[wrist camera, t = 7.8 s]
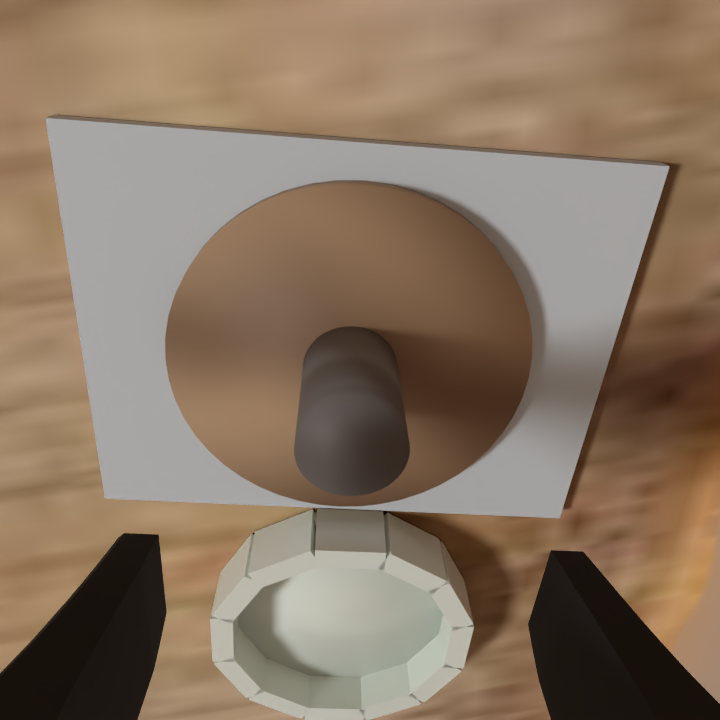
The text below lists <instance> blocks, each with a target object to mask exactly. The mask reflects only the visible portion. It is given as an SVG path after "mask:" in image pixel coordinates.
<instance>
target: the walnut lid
mask: <svg viewBox="0 0 720 720" xmlns="http://www.w3.org/2000/svg"><path fill="white" fill-rule="evenodd" d="M165 360H166V366H167V372H168V378H169V382H170V385H171V388H172V392H173V395H174V398H175V401H176V403H177V405H178V407H179V409H180V411H181V413H182V415H183V417H184V419H185V420H186V422H187V424H188V425H189V427H190V428H191V430H192V431H193V433H194V434H195V436H196V437H197V438H198V439H199V440H200V441H201V443H202V444H203V445H204V446H205V447H206V448H207V449H208V451H209V452H211V453H212V454H213V455H214V456H215V457H216V458H217V459H218V460H219V461H220V462H222V463H223V464H224V465H225V466H227V467H228V468H229V469H231V470H232V471H234V472H235V473H236V474H238V475H239V476H241V477H242V478H244V479H246V480H248V481H250V482H251V483H253V484H255V485H257V486H259V487H261V488H263V489H266V490H268V491H270V492H273V493H275V494H278V495H281V496H284V497H287V498H291V499H294V500H297V501H302V502H307V503H313V504H318V505H328V506H339V507H342V506H368V505H377V504H383V503H388V502H393V501H398V500H402V499H405V498H408V497H411V496H414V495H417V494H421V493H423V492H425V491H428V490H430V489H432V488H434V487H437V486H439V485H441V484H443V483H444V482H446V481H448V480H450V479H451V478H453V477H455V476H457V475H458V474H460V473H461V472H462V471H464V470H465V469H466V468H468V467H469V466H471V465H472V464H473V463H475V462H476V461H477V460H478V459H479V458H480V457H481V456H482V455H483V454H484V453H485V452H486V451H488V450H489V449H490V447H491V446H492V445H493V444H494V443H495V442H496V440H497V439H498V438H499V437H500V436H501V434H502V433H503V432H504V430H505V429H506V427H507V426H508V424H509V423H510V421H511V420H512V418H513V416H514V414H515V412H516V410H517V408H518V406H519V404H520V402H521V400H522V398H523V395H524V391H525V388H526V385H527V382H528V379H529V373H530V367H531V361H532V330H531V323H530V316H529V312H528V309H527V305H526V302H525V299H524V295H523V293H522V291H521V288H520V286H519V284H518V282H517V280H516V278H515V276H514V274H513V272H512V271H511V269H510V267H509V266H508V264H507V263H506V261H505V260H504V258H503V257H502V255H501V254H500V253H499V251H498V250H497V248H496V247H495V246H494V245H493V243H492V242H491V241H490V240H489V239H488V238H487V237H486V236H485V235H484V234H483V233H482V231H481V230H480V229H478V228H477V227H476V226H475V225H474V224H472V223H471V222H470V221H469V220H467V219H466V218H465V217H464V216H463V215H461V214H460V213H458V212H456V211H455V210H453V209H452V208H450V207H448V206H447V205H445V204H443V203H442V202H440V201H438V200H435V199H433V198H431V197H428V196H426V195H424V194H421V193H419V192H417V191H414V190H410V189H407V188H403V187H399V186H396V185H392V184H387V183H380V182H372V181H365V180H334V181H327V182H319V183H311V184H307V185H303V186H300V187H296V188H292V189H288V190H285V191H282V192H280V193H277V194H275V195H273V196H270V197H268V198H266V199H263V200H261V201H259V202H257V203H256V204H254V205H252V206H251V207H249V208H247V209H245V210H244V211H242V212H240V213H239V214H237V215H236V216H235V217H234V218H232V219H231V220H230V221H229V222H227V223H226V224H225V225H224V226H222V227H221V228H220V229H219V230H218V231H217V232H216V233H215V234H214V235H213V236H212V237H211V238H210V239H209V241H208V242H207V243H206V244H205V245H204V246H203V247H202V248H201V250H200V251H199V253H198V254H197V256H196V257H195V259H194V260H193V262H192V263H191V265H190V266H189V268H188V269H187V271H186V273H185V275H184V277H183V279H182V281H181V283H180V285H179V287H178V289H177V291H176V293H175V296H174V299H173V302H172V305H171V309H170V312H169V315H168V321H167V328H166V335H165Z"/></svg>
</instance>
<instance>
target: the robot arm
mask: <svg viewBox="0 0 720 720" xmlns="http://www.w3.org/2000/svg"><path fill="white" fill-rule="evenodd" d="M165 617H166V603H165V594H164V584H163V574H162V565H161V555H160V545H159V536H158V535H152V534H128V533H124V534H123V535H121V536H120V537H119V538H118V539H117V540H116V541H115V543H114V544H113V545H112V546H111V548H110V549H109V550H108V552H107V553H106V554H105V555H104V557H103V558H102V559H101V560H100V562H99V563H98V564H97V565H96V567H95V568H94V569H93V570H92V572H91V573H90V574H89V575H88V577H87V578H86V579H85V580H84V581H83V583H82V584H81V585H80V586H79V587H78V589H77V590H76V591H75V592H74V593H73V594H72V596H71V597H70V598H69V599H68V600H67V601H66V603H65V604H64V605H63V606H62V607H61V608H60V609H59V611H58V612H57V613H56V614H55V615H54V616H53V617H52V618H51V620H50V621H49V622H48V623H47V624H46V625H45V626H44V628H43V629H42V630H41V631H40V632H39V633H38V634H37V635H36V636H35V638H34V639H33V640H32V641H31V642H30V643H29V644H28V645H27V646H26V647H25V648H24V649H23V650H22V651H21V652H20V653H19V654H18V655H17V656H16V658H15V659H14V660H13V661H12V662H11V663H10V664H9V665H8V666H7V667H6V668H5V669H4V670H3V671H2V672H1V673H0V720H137V719H138V716H139V713H140V710H141V707H142V704H143V701H144V698H145V695H146V692H147V689H148V686H149V683H150V680H151V677H152V674H153V671H154V667H155V662H156V658H157V654H158V649H159V645H160V640H161V636H162V631H163V626H164V622H165ZM528 626H529V631H530V637H531V642H532V648H533V653H534V658H535V663H536V668H537V673H538V678H539V682H540V685H541V688H542V692H543V695H544V698H545V701H546V705H547V708H548V711H549V714H550V717H551V720H720V704H719V703H718V702H717V701H716V700H715V699H714V698H713V697H712V696H711V695H710V694H709V693H708V692H707V691H706V690H705V689H704V688H703V687H702V686H701V685H700V684H699V683H698V682H697V681H696V679H695V678H694V677H692V675H691V674H690V673H689V672H688V671H687V670H686V669H685V668H684V667H683V666H682V665H681V664H680V663H679V661H678V660H677V659H676V658H675V657H674V656H673V655H672V654H671V653H670V652H669V650H668V649H667V648H666V647H665V646H664V645H663V644H662V643H661V642H660V640H659V639H658V638H657V637H656V636H655V635H654V634H653V633H652V632H651V630H650V629H649V628H648V627H647V626H646V625H645V624H644V622H643V621H642V620H641V619H640V618H639V617H638V616H637V614H636V613H635V612H634V611H633V610H632V608H631V607H630V606H629V605H628V604H627V603H626V601H625V600H624V599H623V598H622V597H621V596H620V594H619V593H618V592H617V591H616V590H615V589H614V587H613V586H612V585H611V584H610V583H609V581H608V580H607V579H606V578H605V577H604V576H603V574H602V573H601V572H600V571H599V570H598V568H597V567H596V566H595V565H594V564H593V563H592V561H591V560H590V559H589V558H588V557H587V556H586V554H585V553H584V552H577V551H552V550H551V553H550V556H549V559H548V562H547V566H546V569H545V572H544V575H543V578H542V582H541V585H540V588H539V591H538V594H537V598H536V601H535V604H534V607H533V610H532V614H531V617H530V620H529V623H528Z"/></svg>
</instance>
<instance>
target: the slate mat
mask: <svg viewBox="0 0 720 720" xmlns="http://www.w3.org/2000/svg"><path fill="white" fill-rule="evenodd" d="M46 124H47V131H48V137H49V143H50V150H51V156H52V163H53V169H54V175H55V182H56V188H57V195H58V201H59V207H60V214H61V220H62V227H63V233H64V239H65V246H66V252H67V259H68V265H69V271H70V278H71V284H72V291H73V297H74V303H75V310H76V316H77V323H78V329H79V335H80V342H81V348H82V355H83V361H84V367H85V374H86V380H87V387H88V393H89V399H90V406H91V412H92V419H93V425H94V431H95V438H96V444H97V451H98V457H99V463H100V470H101V476H102V483H103V489H104V495H105V499H125V500H148V501H172V502H195V503H218V504H242V505H265V506H288V507H312V508H335V509H358V510H382V511H405V512H428V513H452V514H475V515H498V516H522V517H545V518H560V515H561V512H562V509H563V506H564V503H565V499H566V496H567V493H568V490H569V487H570V483H571V480H572V477H573V474H574V471H575V467H576V464H577V461H578V458H579V455H580V451H581V448H582V445H583V442H584V439H585V436H586V432H587V429H588V426H589V423H590V420H591V416H592V413H593V410H594V407H595V404H596V400H597V397H598V394H599V391H600V388H601V384H602V381H603V378H604V375H605V372H606V368H607V365H608V362H609V359H610V356H611V352H612V349H613V346H614V343H615V340H616V336H617V333H618V330H619V327H620V324H621V321H622V317H623V314H624V311H625V308H626V305H627V301H628V298H629V295H630V292H631V289H632V285H633V282H634V279H635V276H636V273H637V269H638V266H639V263H640V260H641V257H642V253H643V250H644V247H645V244H646V241H647V237H648V234H649V231H650V228H651V225H652V221H653V218H654V215H655V212H656V209H657V206H658V202H659V199H660V196H661V193H662V190H663V186H664V183H665V180H666V177H667V174H668V170H669V167H670V166H668V165H666V164H664V163H662V162H652V161H639V160H626V159H613V158H601V157H588V156H575V155H562V154H549V153H537V152H524V151H511V150H498V149H485V148H473V147H460V146H447V145H434V144H421V143H408V142H396V141H383V140H370V139H357V138H344V137H332V136H319V135H306V134H293V133H280V132H267V131H255V130H242V129H229V128H216V127H203V126H191V125H178V124H165V123H152V122H139V121H127V120H114V119H101V118H88V117H75V116H62V115H52V116H49V117H47V118H46ZM334 180H365V181H372V182H380V183H387V184H392V185H396V186H399V187H403V188H407V189H410V190H414V191H417V192H419V193H421V194H424V195H426V196H428V197H431V198H433V199H435V200H438V201H440V202H442V203H443V204H445V205H447V206H448V207H450V208H452V209H453V210H455V211H456V212H458V213H460V214H461V215H463V216H464V217H465V218H466V219H467V220H469V221H470V222H471V223H472V224H474V225H475V226H476V227H477V228H478V229H480V230H481V231H482V233H483V234H484V235H485V236H486V237H487V238H488V239H489V240H490V241H491V242H492V243H493V245H494V246H495V247H496V248H497V250H498V251H499V253H500V254H501V255H502V257H503V258H504V260H505V261H506V263H507V264H508V266H509V267H510V269H511V271H512V272H513V274H514V276H515V278H516V280H517V282H518V284H519V286H520V288H521V291H522V293H523V295H524V299H525V302H526V305H527V309H528V312H529V316H530V323H531V330H532V361H531V367H530V373H529V379H528V382H527V385H526V388H525V391H524V395H523V398H522V400H521V402H520V404H519V406H518V408H517V410H516V412H515V414H514V416H513V418H512V420H511V421H510V423H509V424H508V426H507V427H506V429H505V430H504V432H503V433H502V434H501V436H500V437H499V438H498V439H497V440H496V442H495V443H494V444H493V445H492V446H491V447H490V449H489V450H488V451H486V452H485V453H484V454H483V455H482V456H481V457H480V458H479V459H478V460H477V461H476V462H475V463H473V464H472V465H471V466H469V467H468V468H466V469H465V470H464V471H462V472H461V473H460V474H458V475H457V476H455V477H453V478H451V479H450V480H448V481H446V482H444V483H443V484H441V485H439V486H437V487H434V488H432V489H430V490H428V491H425V492H423V493H421V494H417V495H414V496H411V497H408V498H405V499H402V500H398V501H393V502H388V503H383V504H377V505H368V506H342V507H339V506H328V505H318V504H313V503H307V502H302V501H297V500H294V499H291V498H287V497H284V496H281V495H278V494H275V493H273V492H270V491H268V490H266V489H263V488H261V487H259V486H257V485H255V484H253V483H251V482H250V481H248V480H246V479H244V478H242V477H241V476H239V475H238V474H236V473H235V472H234V471H232V470H231V469H229V468H228V467H227V466H225V465H224V464H223V463H222V462H220V461H219V460H218V459H217V458H216V457H215V456H214V455H213V454H212V453H211V452H209V451H208V449H207V448H206V447H205V446H204V445H203V444H202V443H201V441H200V440H199V439H198V438H197V437H196V436H195V434H194V433H193V431H192V430H191V428H190V427H189V425H188V424H187V422H186V420H185V419H184V417H183V415H182V413H181V411H180V409H179V407H178V405H177V403H176V401H175V398H174V395H173V392H172V388H171V385H170V382H169V378H168V372H167V366H166V360H165V335H166V328H167V321H168V315H169V312H170V309H171V305H172V302H173V299H174V296H175V293H176V291H177V289H178V287H179V285H180V283H181V281H182V279H183V277H184V275H185V273H186V271H187V269H188V268H189V266H190V265H191V263H192V262H193V260H194V259H195V257H196V256H197V254H198V253H199V251H200V250H201V248H202V247H203V246H204V245H205V244H206V243H207V242H208V241H209V239H210V238H211V237H212V236H213V235H214V234H215V233H216V232H217V231H218V230H219V229H220V228H221V227H222V226H224V225H225V224H226V223H227V222H229V221H230V220H231V219H232V218H234V217H235V216H236V215H237V214H239V213H240V212H242V211H244V210H245V209H247V208H249V207H251V206H252V205H254V204H256V203H257V202H259V201H261V200H263V199H266V198H268V197H270V196H273V195H275V194H277V193H280V192H282V191H285V190H288V189H292V188H296V187H300V186H303V185H307V184H311V183H319V182H327V181H334Z"/></svg>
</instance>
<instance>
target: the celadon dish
mask: <svg viewBox="0 0 720 720" xmlns="http://www.w3.org/2000/svg"><path fill="white" fill-rule="evenodd" d="M210 624H211V642H212V660H213V661H214V665H215V666H216V667H217V668H218V669H219V670H220V671H221V672H222V673H223V674H224V675H225V676H226V677H227V678H228V679H229V680H230V681H231V683H232V684H233V685H234V686H235V687H236V688H237V689H238V690H239V691H240V692H241V693H242V694H243V695H244V696H245V697H246V698H248V697H250V699H249V700H251V701H253V702H256V703H259V704H262V705H264V706H267V707H270V708H272V709H275V710H278V711H281V712H283V713H286V714H289V715H291V716H294V717H297V718H299V719H301V718H302V717H303V716H305V720H363V719H364V717H365V718H366V720H371V719H374V718H377V717H380V716H384V715H387V714H390V713H394V712H397V711H400V710H404V709H407V708H410V707H413V706H417V705H420V704H421V701H422V702H425V701H427V700H428V699H429V698H430V697H431V696H433V695H434V694H435V693H436V692H437V691H439V690H440V689H441V688H442V687H443V686H445V685H446V684H447V683H448V682H449V681H450V680H452V679H453V678H454V677H455V676H456V675H458V674H459V673H460V672H461V671H462V669H461V668H464V665H465V661H466V657H467V653H468V649H469V645H470V641H471V637H472V633H473V629H474V625H473V619H472V614H471V610H470V605H469V600H468V595H467V591H466V586H465V581H464V579H463V577H462V576H461V574H460V572H459V570H458V569H457V567H456V565H455V563H454V562H453V560H452V558H451V556H450V555H449V553H448V551H447V549H446V548H445V546H444V544H443V542H442V541H441V542H440V541H439V538H437V537H435V536H433V535H431V534H429V533H427V532H425V531H423V530H421V529H419V528H417V527H415V526H413V525H411V524H409V523H407V522H405V521H403V520H401V519H399V518H397V517H395V516H393V515H391V514H389V513H388V512H387V513H386V514H385V515H383V511H363V510H339V509H317V512H314V510H313V509H312V510H309V511H307V512H304V513H302V514H299V515H296V516H294V517H291V518H288V519H286V520H283V521H281V522H278V523H275V524H273V525H270V526H268V527H265V528H262V529H260V530H257V531H255V534H251V535H250V536H249V538H248V539H247V540H246V541H245V542H244V544H243V545H242V546H241V547H240V549H239V550H238V551H237V552H236V554H235V555H234V556H233V557H232V558H231V560H230V561H229V562H228V563H227V565H226V566H225V567H224V568H223V570H222V571H221V573H220V575H219V580H218V585H217V589H216V594H215V599H214V603H213V608H212V613H211V617H210Z"/></svg>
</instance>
